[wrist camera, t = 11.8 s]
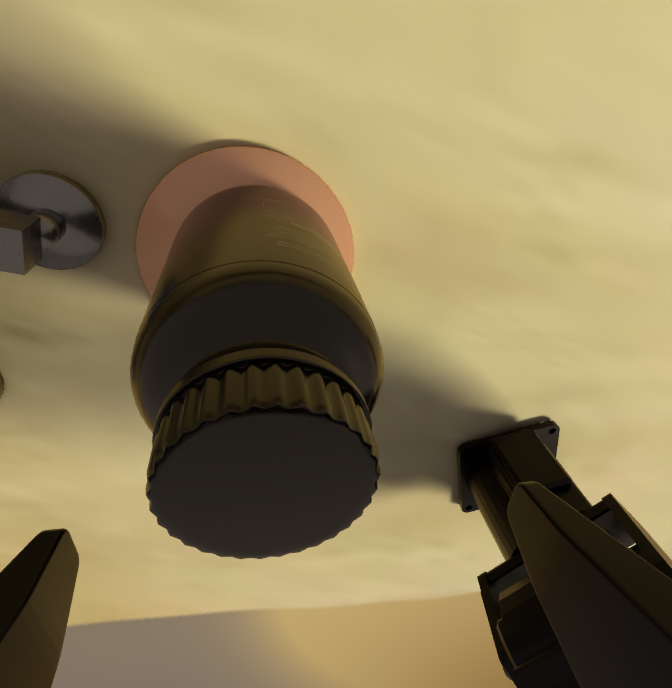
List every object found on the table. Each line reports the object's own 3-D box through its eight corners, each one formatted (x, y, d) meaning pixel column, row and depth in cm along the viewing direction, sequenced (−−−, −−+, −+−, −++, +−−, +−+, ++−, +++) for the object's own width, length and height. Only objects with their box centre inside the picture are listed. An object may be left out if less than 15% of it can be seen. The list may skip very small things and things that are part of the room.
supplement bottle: (137, 226, 17) (-12, 449, 7) (297, 151, 17) (369, 281, 7) (226, 355, 21) (206, 619, 11) (358, 297, 21) (462, 519, 11)
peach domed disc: (365, 321, 22) (367, 325, 22) (185, 366, 22) (185, 370, 21) (331, 121, 17) (333, 122, 17) (96, 176, 17) (93, 178, 16)
